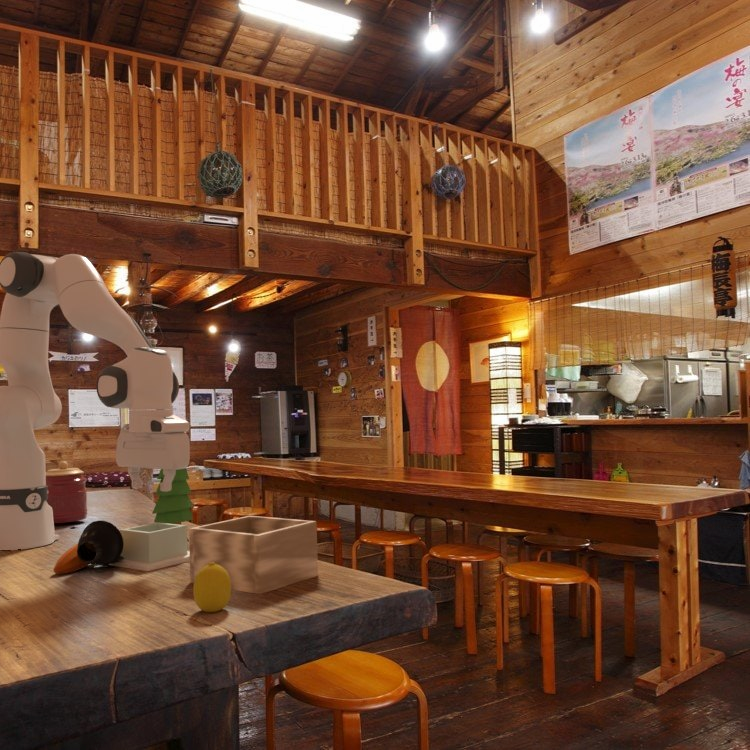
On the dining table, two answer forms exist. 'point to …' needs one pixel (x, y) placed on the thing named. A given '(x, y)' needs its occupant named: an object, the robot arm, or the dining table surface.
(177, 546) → the open rectangular box
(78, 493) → the canister
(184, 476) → the decorative tree
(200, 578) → the lemon
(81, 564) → the carrot
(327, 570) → the dining table surface
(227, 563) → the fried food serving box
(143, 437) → the robot arm
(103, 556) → the bowl of food
